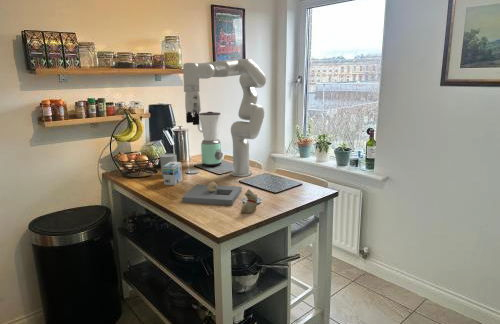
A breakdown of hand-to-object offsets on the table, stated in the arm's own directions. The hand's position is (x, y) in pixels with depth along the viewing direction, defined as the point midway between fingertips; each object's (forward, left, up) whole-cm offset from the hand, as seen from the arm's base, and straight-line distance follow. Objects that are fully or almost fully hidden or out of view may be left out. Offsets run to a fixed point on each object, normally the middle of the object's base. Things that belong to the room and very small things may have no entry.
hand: (192, 123), depth 174 cm
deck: (+11, +13, -34) cm, 38 cm away
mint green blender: (-49, -7, -34) cm, 60 cm away
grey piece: (-21, -24, -34) cm, 47 cm away
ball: (+11, +12, -29) cm, 33 cm away
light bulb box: (-8, -16, -35) cm, 39 cm away
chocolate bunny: (+26, +34, -34) cm, 55 cm away
